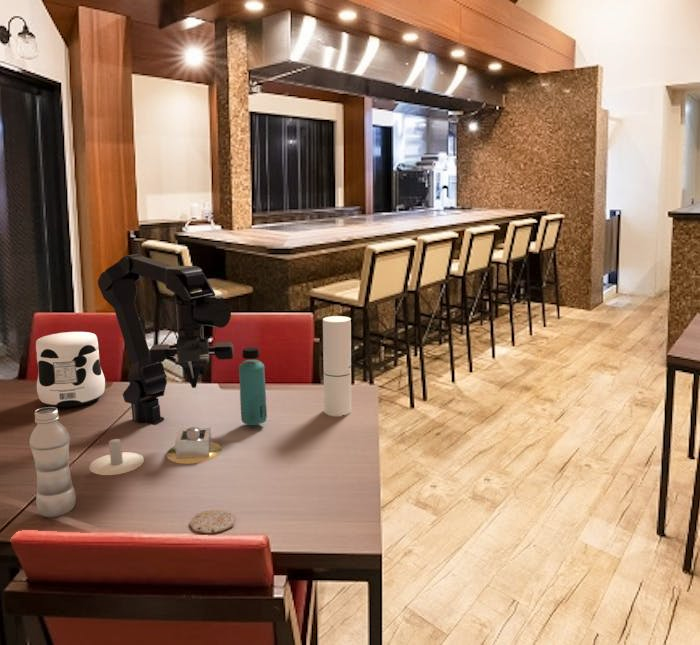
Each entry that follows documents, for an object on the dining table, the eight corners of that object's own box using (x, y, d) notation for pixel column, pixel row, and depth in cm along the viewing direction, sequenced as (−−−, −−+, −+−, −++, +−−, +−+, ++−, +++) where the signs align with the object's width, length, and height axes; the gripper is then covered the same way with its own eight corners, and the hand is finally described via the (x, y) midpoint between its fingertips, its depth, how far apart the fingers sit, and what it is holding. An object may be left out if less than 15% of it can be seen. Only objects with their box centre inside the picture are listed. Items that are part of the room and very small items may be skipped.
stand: (78, 471, 134) (75, 446, 132) (118, 452, 143) (115, 428, 142) (116, 482, 129) (113, 456, 127) (155, 461, 138) (153, 436, 137)
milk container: (83, 387, 188) (77, 328, 184) (119, 398, 178) (113, 336, 175) (26, 403, 175) (18, 340, 171) (61, 416, 165) (53, 349, 161)
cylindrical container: (354, 408, 170) (354, 317, 164) (345, 417, 163) (345, 322, 158) (329, 405, 172) (328, 315, 166) (320, 414, 165) (318, 320, 160)
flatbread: (183, 532, 111) (182, 527, 111) (200, 511, 118) (200, 506, 118) (227, 537, 109) (226, 532, 109) (242, 515, 117) (242, 510, 116)
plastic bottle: (45, 504, 120) (33, 404, 116) (82, 503, 121) (71, 403, 116) (31, 522, 114) (18, 417, 109) (70, 521, 114) (59, 416, 110)
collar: (176, 459, 137) (175, 442, 137) (180, 446, 144) (178, 429, 143) (209, 457, 138) (208, 440, 138) (211, 444, 145) (210, 427, 144)
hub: (155, 460, 139) (152, 434, 138) (191, 440, 149) (190, 416, 148) (198, 471, 134) (196, 444, 132) (232, 449, 144) (231, 424, 143)
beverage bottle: (262, 431, 154) (259, 352, 150) (236, 429, 156) (233, 351, 151) (271, 421, 161) (268, 345, 156) (246, 420, 162) (242, 344, 157)
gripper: (141, 332, 136) (147, 401, 139) (230, 328, 138) (233, 396, 142) (150, 320, 147) (154, 385, 150) (232, 318, 149) (235, 381, 153)
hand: (194, 387), depth 148 cm, fingers closed
